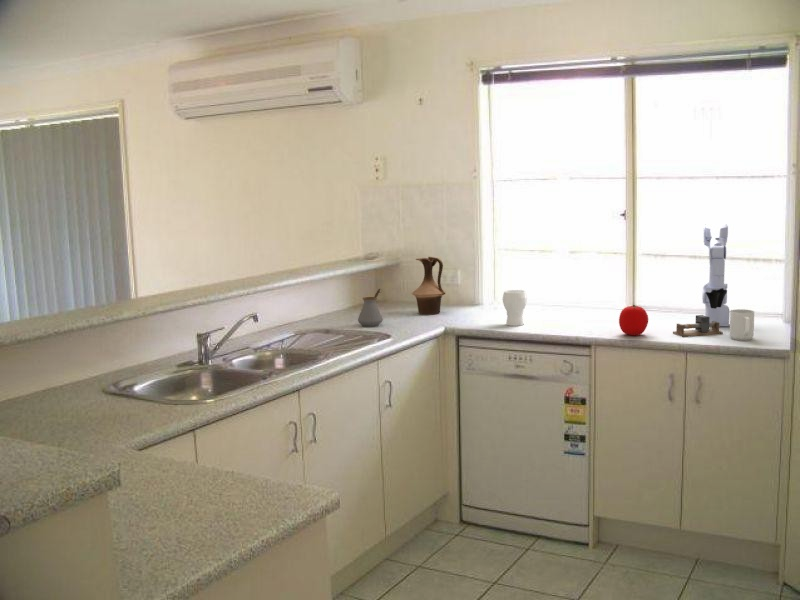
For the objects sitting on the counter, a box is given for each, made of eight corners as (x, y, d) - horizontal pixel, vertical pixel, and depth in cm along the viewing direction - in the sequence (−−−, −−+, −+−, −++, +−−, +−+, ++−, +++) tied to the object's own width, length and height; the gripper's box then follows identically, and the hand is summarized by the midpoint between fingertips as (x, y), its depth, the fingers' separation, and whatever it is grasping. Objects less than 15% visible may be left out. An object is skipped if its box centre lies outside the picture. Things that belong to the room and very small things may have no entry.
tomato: (630, 338, 345) (631, 308, 343) (612, 333, 356) (613, 304, 354) (655, 335, 350) (655, 305, 348) (636, 330, 361) (637, 301, 359)
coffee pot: (378, 328, 384) (377, 295, 381) (354, 327, 387) (353, 294, 385) (392, 319, 404) (391, 288, 401) (369, 319, 407) (368, 288, 405)
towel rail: (712, 330, 357) (712, 320, 356) (722, 334, 349) (723, 323, 348) (672, 333, 353) (672, 323, 352) (682, 337, 345) (683, 326, 345)
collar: (701, 329, 354) (702, 314, 353) (709, 331, 349) (709, 317, 348) (695, 329, 354) (695, 315, 353) (702, 331, 348) (702, 317, 347)
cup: (500, 326, 380) (500, 292, 378) (506, 322, 390) (505, 289, 388) (524, 327, 376) (523, 293, 374) (529, 322, 386) (528, 290, 384)
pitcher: (453, 311, 421) (452, 255, 417) (436, 317, 407) (435, 259, 403) (423, 309, 431) (421, 254, 426) (405, 314, 417) (403, 257, 412)
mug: (726, 336, 344) (727, 309, 342) (749, 336, 343) (750, 309, 341) (735, 342, 332) (736, 314, 330) (758, 342, 331) (760, 314, 329)
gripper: (716, 272, 357) (715, 304, 359) (698, 276, 347) (697, 308, 349) (732, 273, 351) (731, 306, 354) (715, 277, 342) (714, 310, 344)
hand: (715, 307), depth 351 cm, fingers open, 3 cm apart
